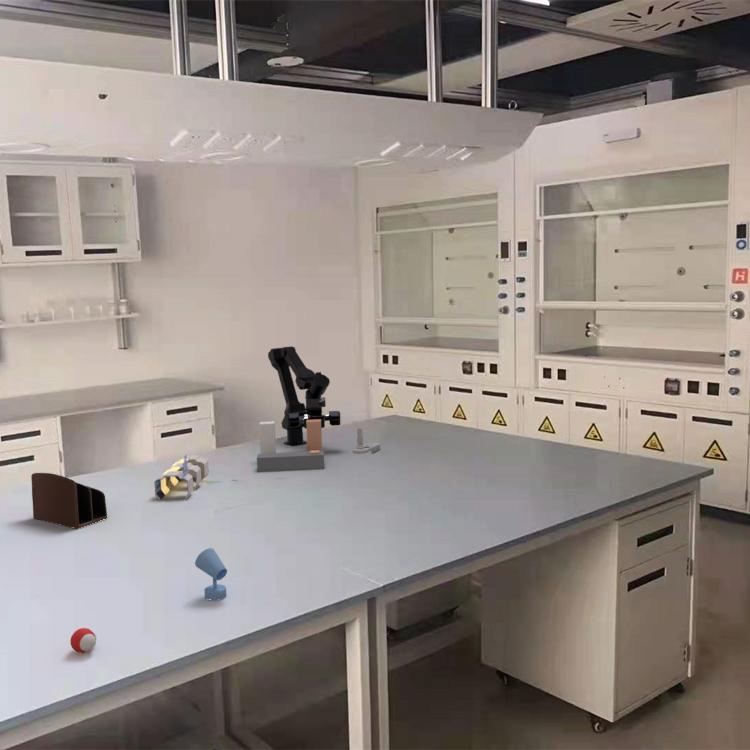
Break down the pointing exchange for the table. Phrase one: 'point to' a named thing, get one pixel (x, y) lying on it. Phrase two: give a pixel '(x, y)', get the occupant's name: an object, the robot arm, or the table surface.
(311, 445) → the key
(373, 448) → the electronic device
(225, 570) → the spotlight
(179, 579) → the table surface
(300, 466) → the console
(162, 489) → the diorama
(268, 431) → the key
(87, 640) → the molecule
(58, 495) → the letter holder
